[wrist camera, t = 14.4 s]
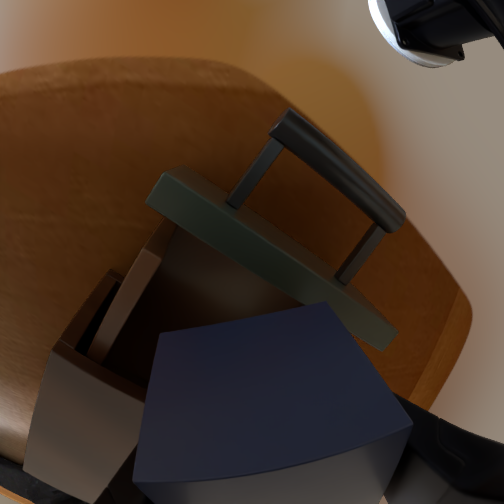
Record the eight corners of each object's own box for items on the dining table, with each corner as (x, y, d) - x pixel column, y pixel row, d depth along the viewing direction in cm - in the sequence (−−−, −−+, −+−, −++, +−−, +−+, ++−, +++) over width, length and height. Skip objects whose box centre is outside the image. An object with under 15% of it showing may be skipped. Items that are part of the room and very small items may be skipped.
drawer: (234, 94, 14) (251, 55, 8) (385, 217, 18) (459, 251, 11) (83, 343, 18) (47, 412, 11) (222, 411, 21) (229, 485, 14)
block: (326, 299, 8) (415, 423, 4) (328, 408, 10) (374, 512, 5) (159, 332, 8) (130, 481, 4) (201, 434, 10) (207, 547, 5)
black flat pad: (-27, 433, 21) (-38, 455, 16) (110, 489, 25) (106, 519, 21) (5, 481, 25) (-2, 500, 21) (120, 522, 30) (118, 544, 25)
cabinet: (109, 268, 17) (50, 350, 9) (272, 359, 21) (302, 455, 13) (54, 396, 20) (22, 470, 12) (177, 454, 23) (176, 529, 15)
